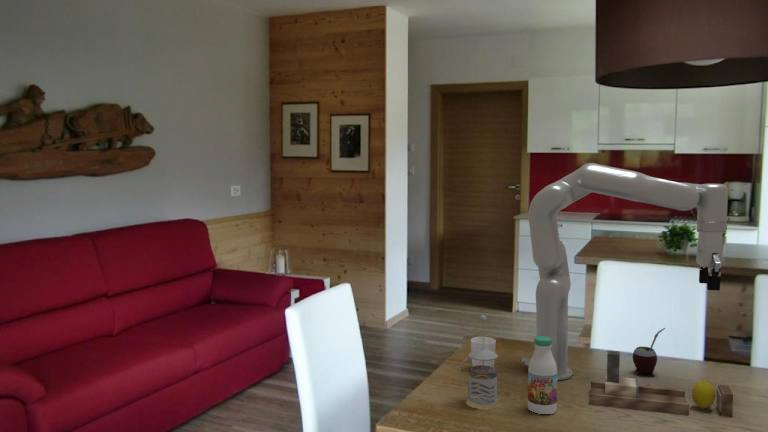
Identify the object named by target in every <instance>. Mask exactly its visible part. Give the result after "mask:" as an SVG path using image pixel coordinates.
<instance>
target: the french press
mask: <svg viewBox="0 0 768 432" xmlns="http://www.w3.org/2000/svg"><path fill="white" fill-rule="evenodd" d="M487 317H488V316H486V315H484V314H481V315H480V316H479V320H480V321H482V337H483V349H477V350H474V351H472V352H471V351H470V352H469V353H468V357H467V358H465V359H463V360H462V361H461V363H460V365H459V368H458V378H459V379H460V381H461V382H462V383H463V384H464V385H466V386H467V387H468V397H467V400H468V399H469V400H470V401H471V402H473V403H476V404H479V405H491V404H495V403H496V402H497V400H498V373H496V372H497V368H496V367H494V368H493V367H490V366H484V361H492V360H497V359H498V358H499V354H497V353H496V352H495V353H494V352H493V351H491V350H488V349H484V337H485V336H484V335H485V333H484V332H485V331H484V322H485V321H487ZM472 359H474V360H479V361H483V365H480V366H473V365H472V366H471V367H470V368H469V371H470V372H469V375H468V378H469V379H468V381H469V382H468V381H467V380H466V379H465V378H463V376H462V369H461V367H462V365H463V364H464V362H467V363H468V365H470V364H471V360H472ZM486 376H487V377H486ZM488 377H489V378H488ZM479 394H484V395H479ZM471 396H478V397H479V398H480V399H481V400H480V399H478V398H471Z"/></svg>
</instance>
